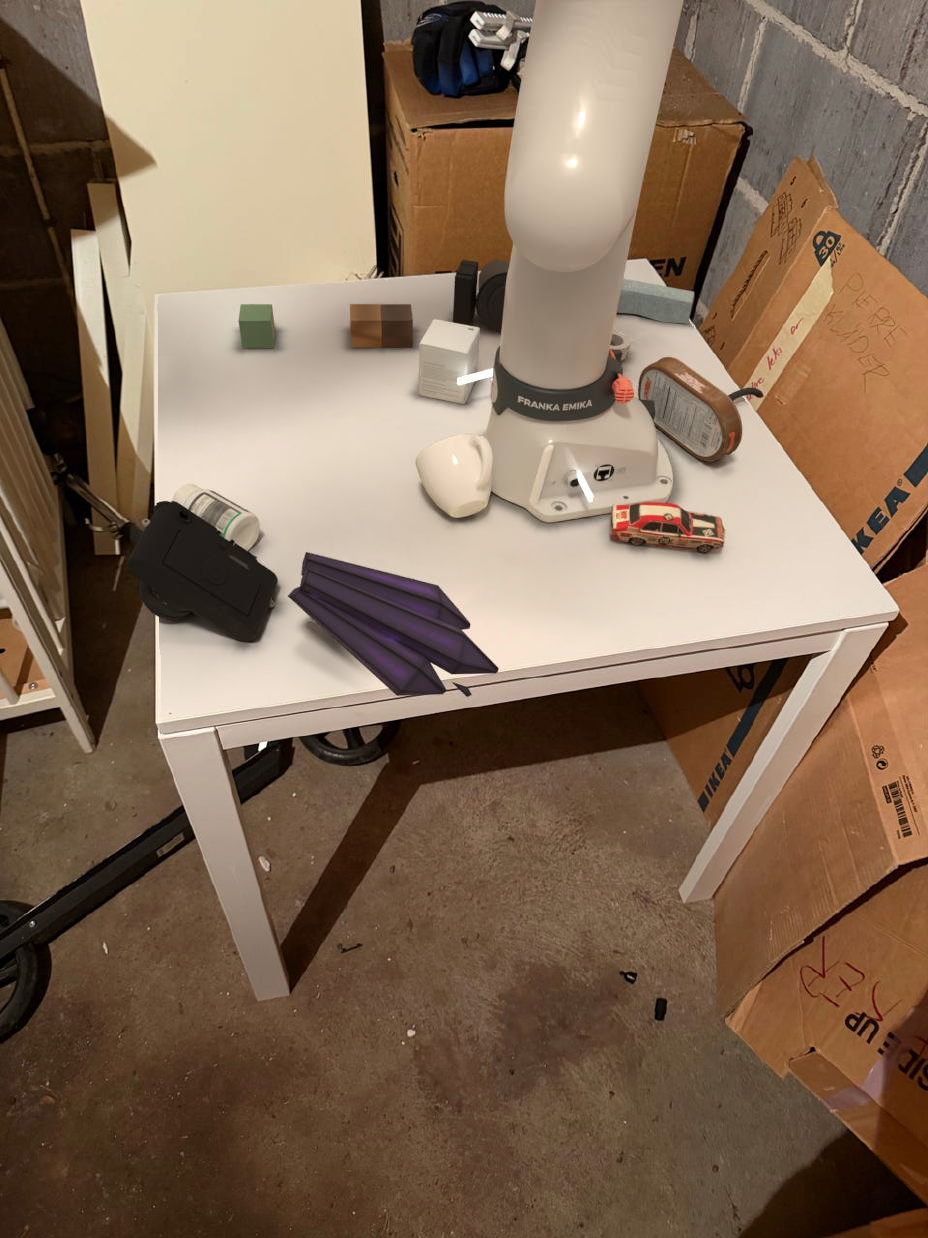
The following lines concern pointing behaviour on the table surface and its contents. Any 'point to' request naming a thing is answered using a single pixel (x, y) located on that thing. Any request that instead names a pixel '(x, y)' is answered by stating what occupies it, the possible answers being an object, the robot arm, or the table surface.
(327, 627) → the crystal
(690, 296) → the light blue foam bar
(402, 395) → the table surface
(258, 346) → the block sage
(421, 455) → the cup
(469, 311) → the ink cartridge
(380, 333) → the block beech
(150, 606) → the camera
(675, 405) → the tin
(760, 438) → the table surface
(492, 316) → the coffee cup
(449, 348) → the product box
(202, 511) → the pill bottle
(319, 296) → the table surface
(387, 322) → the block walnut
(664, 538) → the race car
